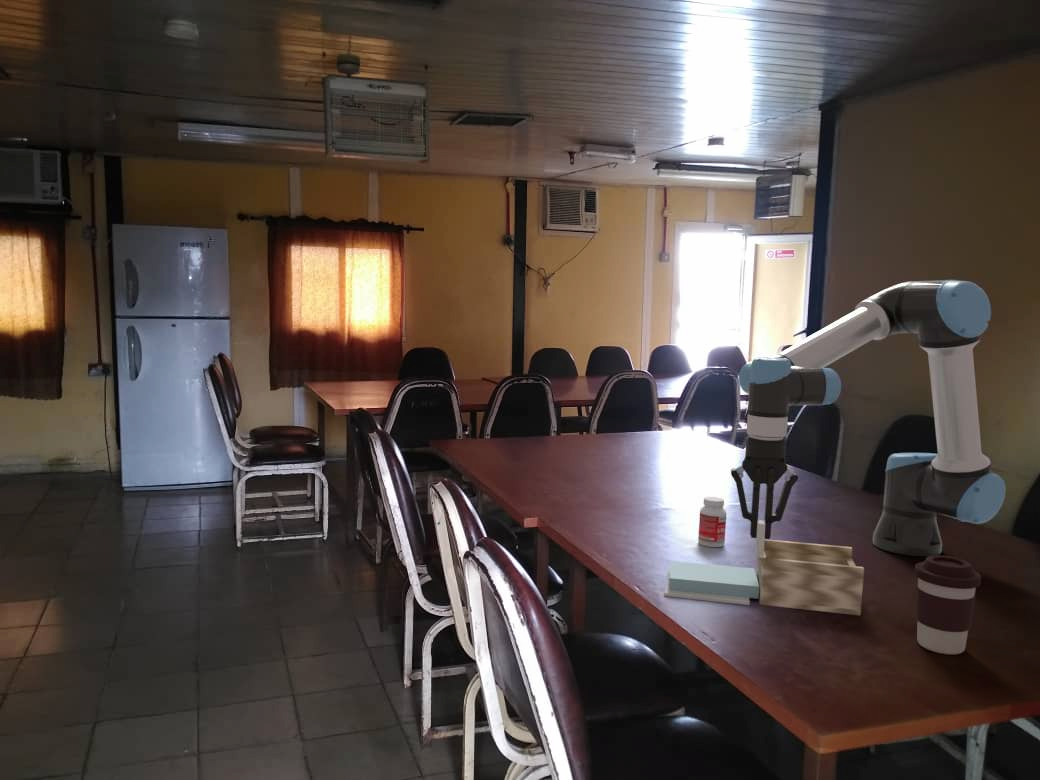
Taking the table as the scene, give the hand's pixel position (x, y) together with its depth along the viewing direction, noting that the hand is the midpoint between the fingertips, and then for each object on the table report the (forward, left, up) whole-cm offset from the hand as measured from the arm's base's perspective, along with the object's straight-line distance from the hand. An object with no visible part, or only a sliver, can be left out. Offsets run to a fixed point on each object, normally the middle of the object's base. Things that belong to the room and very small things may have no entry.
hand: (759, 553), depth 163 cm
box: (-9, 0, -8) cm, 12 cm away
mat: (+10, 0, -8) cm, 12 cm away
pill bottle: (+9, -31, -8) cm, 33 cm away
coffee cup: (-29, +18, -8) cm, 35 cm away
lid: (+9, 0, -7) cm, 11 cm away
